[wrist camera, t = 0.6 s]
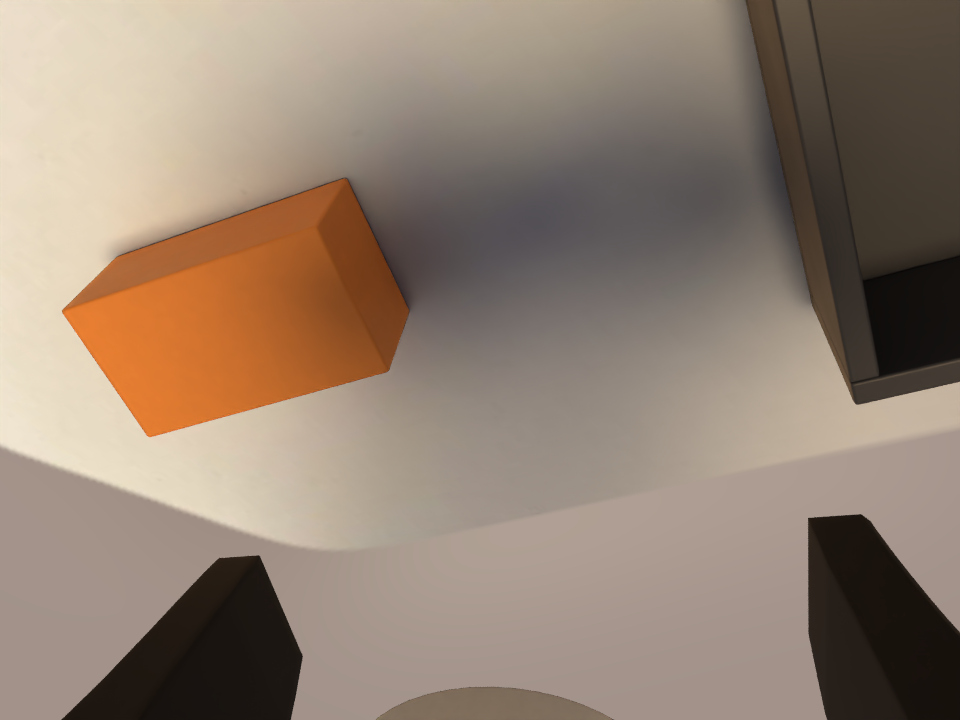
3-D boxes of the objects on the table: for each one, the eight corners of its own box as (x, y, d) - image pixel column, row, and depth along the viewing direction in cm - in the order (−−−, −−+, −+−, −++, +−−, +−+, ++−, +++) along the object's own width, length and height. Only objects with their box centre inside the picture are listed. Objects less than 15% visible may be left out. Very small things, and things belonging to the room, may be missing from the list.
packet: (410, 311, 24) (389, 372, 21) (191, 376, 26) (148, 438, 23) (347, 176, 22) (315, 225, 20) (115, 256, 24) (59, 311, 22)
